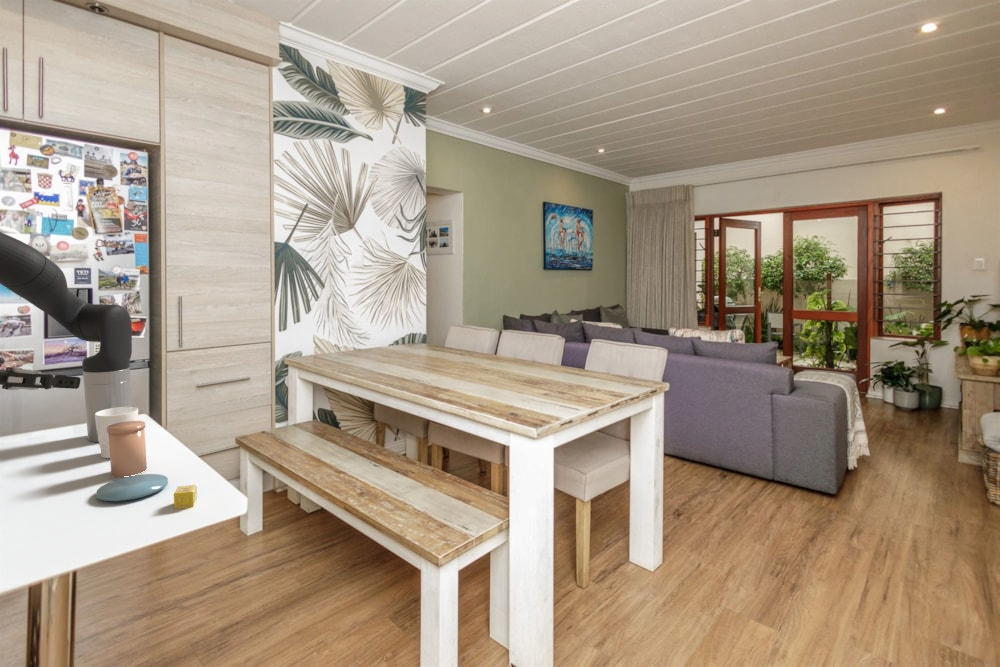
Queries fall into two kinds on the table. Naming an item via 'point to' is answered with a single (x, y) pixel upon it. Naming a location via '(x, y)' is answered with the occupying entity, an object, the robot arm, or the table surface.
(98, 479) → the table surface
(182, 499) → the alphabet block
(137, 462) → the dome-topped peach cylinder
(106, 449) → the white cup
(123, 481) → the blue-grey round disc
